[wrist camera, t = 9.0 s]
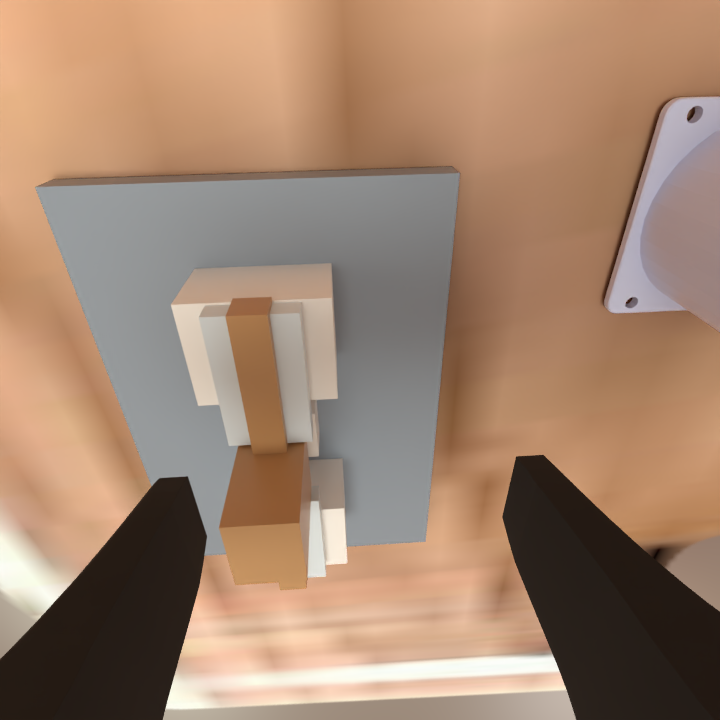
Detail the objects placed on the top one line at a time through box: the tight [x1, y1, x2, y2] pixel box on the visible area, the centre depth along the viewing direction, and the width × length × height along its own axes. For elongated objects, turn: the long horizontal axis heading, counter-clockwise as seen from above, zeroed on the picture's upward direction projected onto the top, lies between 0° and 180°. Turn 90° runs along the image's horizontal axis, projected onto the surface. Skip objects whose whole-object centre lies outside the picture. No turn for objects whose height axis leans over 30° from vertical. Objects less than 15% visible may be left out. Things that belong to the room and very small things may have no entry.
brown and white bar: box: [199, 297, 326, 590], centre depth 16 cm, size 3×14×4 cm, turn 1°
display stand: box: [35, 166, 460, 565], centre depth 20 cm, size 14×20×4 cm
